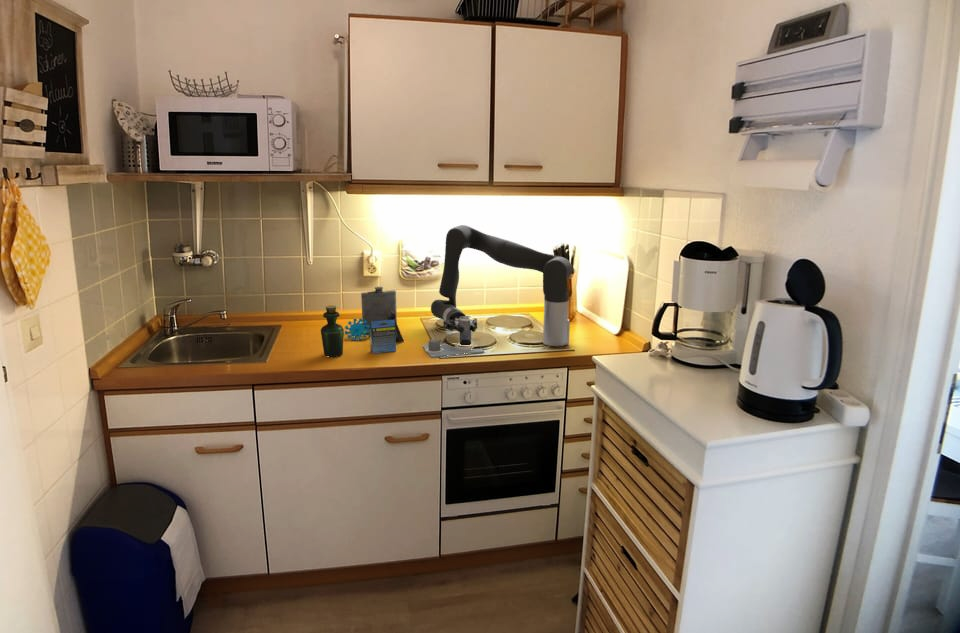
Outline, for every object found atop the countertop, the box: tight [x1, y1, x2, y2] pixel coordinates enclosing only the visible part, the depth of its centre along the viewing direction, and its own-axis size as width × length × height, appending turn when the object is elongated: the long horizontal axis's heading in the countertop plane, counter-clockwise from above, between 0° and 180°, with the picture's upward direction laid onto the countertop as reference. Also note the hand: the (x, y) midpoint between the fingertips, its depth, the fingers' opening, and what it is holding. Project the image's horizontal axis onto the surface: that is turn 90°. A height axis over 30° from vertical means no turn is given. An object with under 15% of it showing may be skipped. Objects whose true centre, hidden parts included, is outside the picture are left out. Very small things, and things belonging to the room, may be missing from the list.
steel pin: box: [459, 315, 473, 345], centre depth 236 cm, size 4×4×10 cm
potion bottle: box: [320, 305, 345, 358], centre depth 227 cm, size 8×8×18 cm
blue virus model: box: [344, 317, 370, 342], centre depth 250 cm, size 11×6×10 cm
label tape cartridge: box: [369, 319, 397, 354], centre depth 232 cm, size 9×4×12 cm, turn 109°
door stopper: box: [382, 310, 405, 344], centre depth 245 cm, size 9×6×12 cm, turn 111°
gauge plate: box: [421, 338, 485, 359], centre depth 236 cm, size 20×14×4 cm
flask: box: [360, 286, 398, 330], centre depth 260 cm, size 4×14×18 cm, turn 111°
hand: (467, 329), depth 233 cm, fingers closed on steel pin, 4 cm apart
